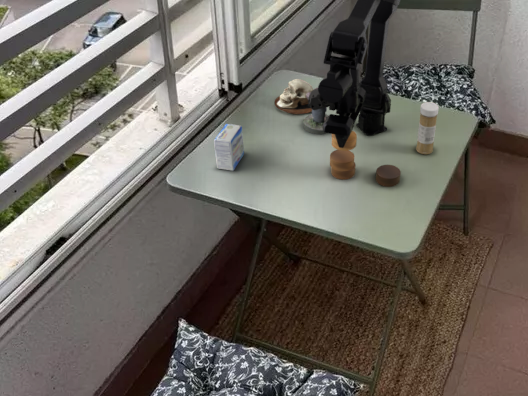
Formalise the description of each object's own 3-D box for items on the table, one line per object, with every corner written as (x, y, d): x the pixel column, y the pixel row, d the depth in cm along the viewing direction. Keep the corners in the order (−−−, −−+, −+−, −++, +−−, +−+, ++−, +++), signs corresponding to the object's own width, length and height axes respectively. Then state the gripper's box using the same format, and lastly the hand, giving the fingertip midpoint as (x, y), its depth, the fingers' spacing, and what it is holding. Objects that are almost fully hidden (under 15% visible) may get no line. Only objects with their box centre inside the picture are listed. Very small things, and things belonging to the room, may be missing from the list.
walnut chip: (390, 170, 172) (391, 162, 170) (404, 182, 168) (405, 174, 166) (370, 177, 169) (371, 168, 167) (384, 189, 165) (385, 181, 163)
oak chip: (347, 134, 168) (348, 126, 166) (361, 146, 164) (361, 137, 163) (326, 141, 165) (327, 132, 164) (339, 153, 161) (340, 144, 160)
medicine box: (233, 171, 168) (231, 142, 163) (216, 168, 168) (213, 139, 163) (244, 154, 174) (242, 125, 169) (227, 151, 175) (225, 122, 169)
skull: (282, 117, 187) (273, 80, 188) (276, 124, 197) (267, 90, 197) (324, 108, 191) (315, 73, 191) (315, 116, 201) (306, 83, 201)
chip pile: (346, 162, 173) (347, 146, 170) (359, 175, 169) (360, 158, 166) (325, 170, 170) (325, 153, 167) (338, 182, 166) (338, 165, 163)
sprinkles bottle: (432, 145, 182) (437, 101, 173) (433, 155, 178) (439, 110, 170) (414, 145, 181) (419, 100, 173) (416, 155, 178) (421, 110, 170)
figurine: (321, 137, 182) (321, 97, 175) (296, 126, 186) (296, 87, 179) (340, 125, 188) (341, 86, 180) (316, 114, 191) (317, 76, 184)
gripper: (321, 59, 163) (321, 116, 172) (300, 96, 148) (301, 156, 158) (367, 66, 162) (364, 122, 171) (350, 104, 147) (348, 163, 156)
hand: (344, 140), depth 164 cm, fingers closed on oak chip, 6 cm apart
